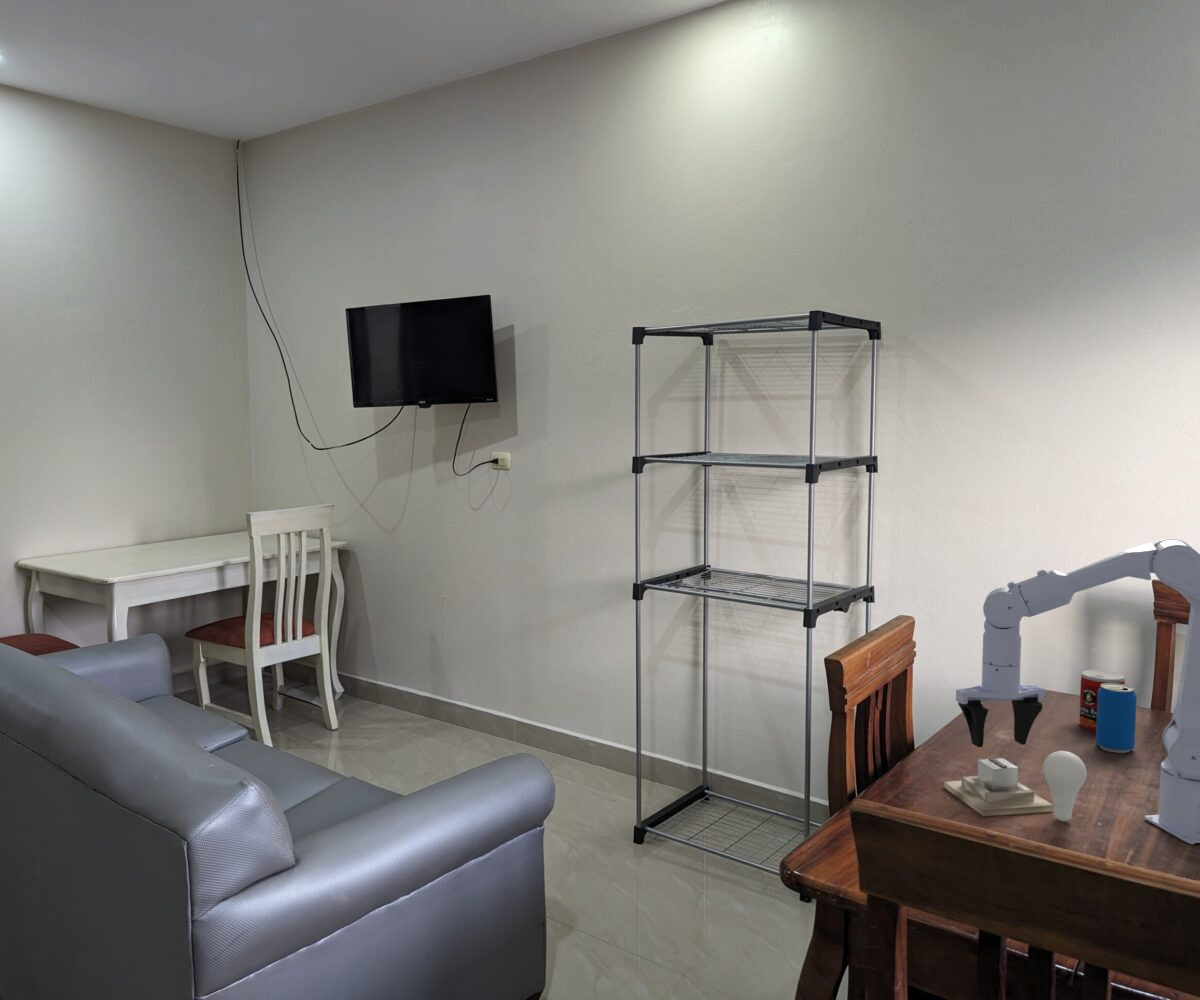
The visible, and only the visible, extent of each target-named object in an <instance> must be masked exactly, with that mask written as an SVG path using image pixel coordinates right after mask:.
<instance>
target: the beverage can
mask: <svg viewBox="0 0 1200 1000" xmlns="http://www.w3.org/2000/svg"><path fill="white" fill-rule="evenodd" d="M1137 696H1138V695H1137V693H1136V692H1135V688H1134V687H1133V686H1131V685H1128V684H1125V685H1124V684H1118V683H1103V684H1101V688H1100V689H1099V690H1098V701H1097V725H1096V731H1095V743H1096V745H1098V746H1099V747H1100V749H1101V750H1104V751H1106V752H1109V753H1114V752H1115V753H1114V754H1127V752H1128V753H1129V752H1130V751H1132V750H1134V749H1135V745H1136V743H1135V742H1136V741H1135V740H1136V738H1135V737H1136V717H1137V698H1138V697H1137Z"/></svg>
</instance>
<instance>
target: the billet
mask: <svg viewBox="0 0 1200 1000" xmlns="http://www.w3.org/2000/svg"><path fill="white" fill-rule="evenodd" d="M977 776H978V784H979V785H981V786H982V787H984V788H985V789H987V790H988V791H990V792H1003V791H1017V787H1018V782H1019V778H1018V777H1019V766H1017V765H1014V764H1013V763H1011V761H1009V760H1006V759H1005V758H1003V757H1001V758H1000V757H998V758H996V757H995V758H994V757H990V758H981V759H979V758H978V759H977Z"/></svg>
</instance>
